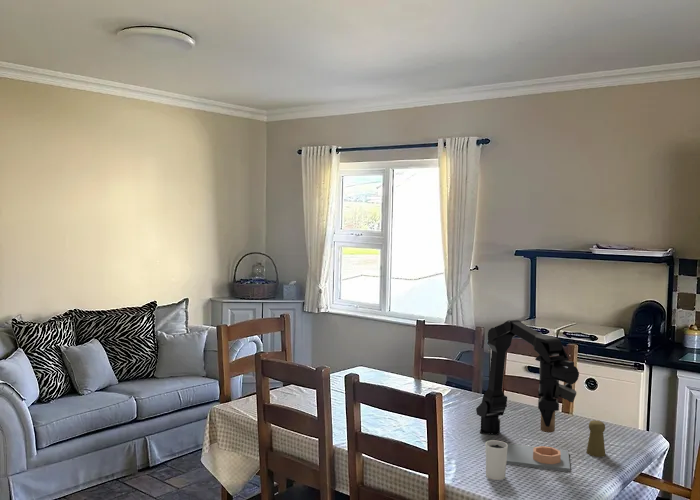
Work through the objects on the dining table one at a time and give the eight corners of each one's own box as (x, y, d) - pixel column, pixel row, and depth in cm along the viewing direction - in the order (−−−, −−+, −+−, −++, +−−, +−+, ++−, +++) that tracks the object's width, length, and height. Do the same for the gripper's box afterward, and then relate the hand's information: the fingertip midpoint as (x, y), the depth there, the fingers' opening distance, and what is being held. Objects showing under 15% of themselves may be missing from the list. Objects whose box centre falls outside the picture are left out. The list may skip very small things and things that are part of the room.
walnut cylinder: (540, 431, 204) (541, 407, 204) (540, 427, 208) (541, 403, 208) (554, 433, 203) (555, 408, 203) (554, 428, 207) (555, 404, 207)
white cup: (481, 472, 197) (482, 440, 196) (502, 471, 198) (503, 440, 197) (488, 481, 190) (489, 448, 190) (509, 480, 191) (510, 448, 190)
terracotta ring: (532, 461, 203) (533, 454, 203) (533, 452, 211) (533, 445, 211) (560, 465, 201) (560, 457, 200) (559, 455, 209) (560, 448, 208)
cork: (607, 457, 210) (608, 425, 209) (587, 456, 211) (589, 423, 211) (603, 451, 216) (604, 419, 215) (585, 449, 217) (586, 418, 216)
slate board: (504, 463, 204) (504, 460, 204) (507, 446, 219) (507, 443, 219) (569, 471, 198) (570, 468, 198) (568, 453, 213) (568, 450, 213)
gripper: (576, 386, 194) (575, 436, 194) (573, 372, 211) (572, 418, 212) (538, 383, 197) (537, 432, 198) (538, 369, 215) (537, 414, 215)
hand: (547, 424), depth 206 cm, fingers closed on walnut cylinder, 4 cm apart
